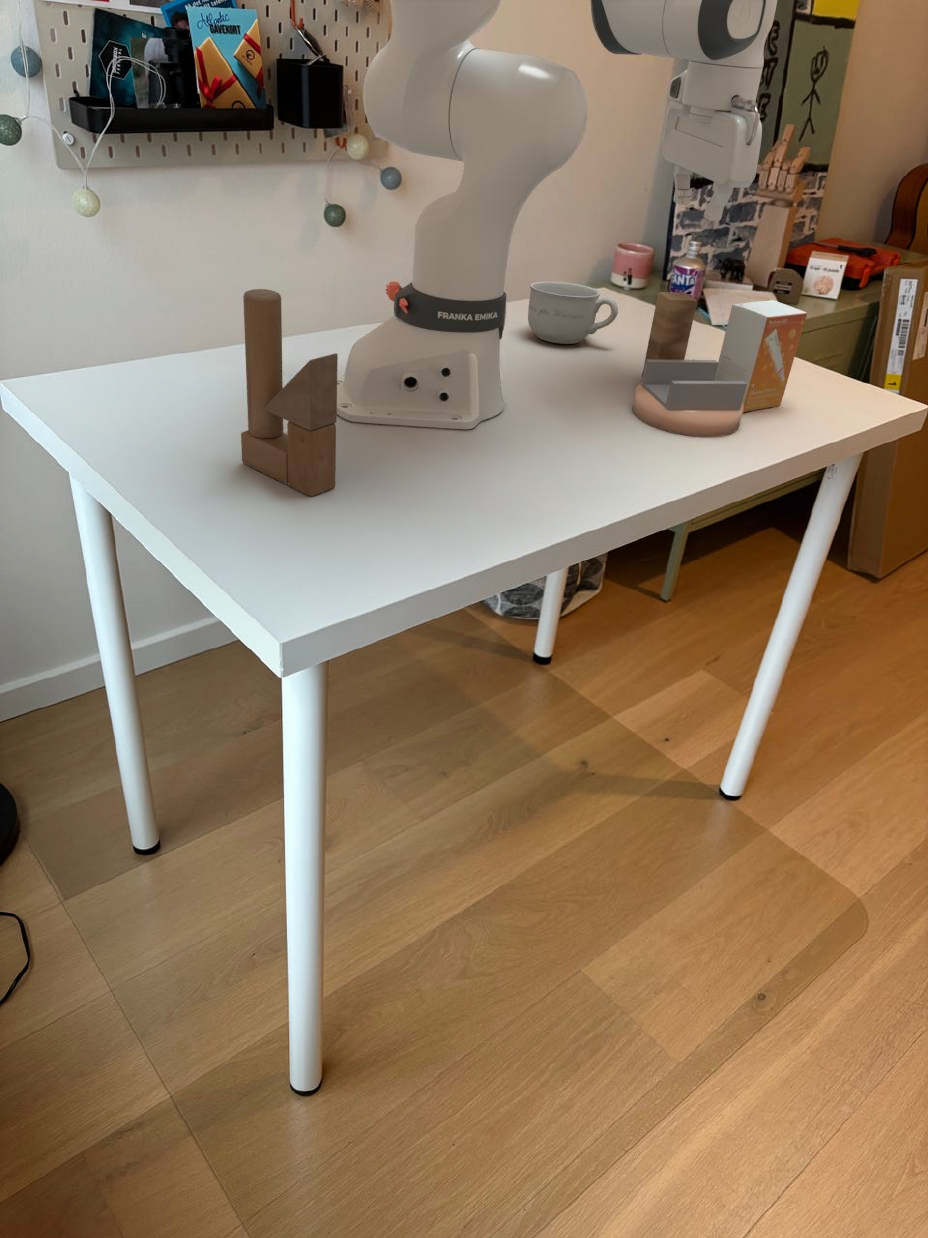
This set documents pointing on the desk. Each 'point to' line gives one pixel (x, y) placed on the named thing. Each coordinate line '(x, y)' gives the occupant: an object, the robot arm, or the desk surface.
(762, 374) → the small box
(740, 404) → the round base with bracket
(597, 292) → the teacup
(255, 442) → the brown wooden block assembly
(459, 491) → the desk surface
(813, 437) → the desk surface
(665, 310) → the wood grain beam
